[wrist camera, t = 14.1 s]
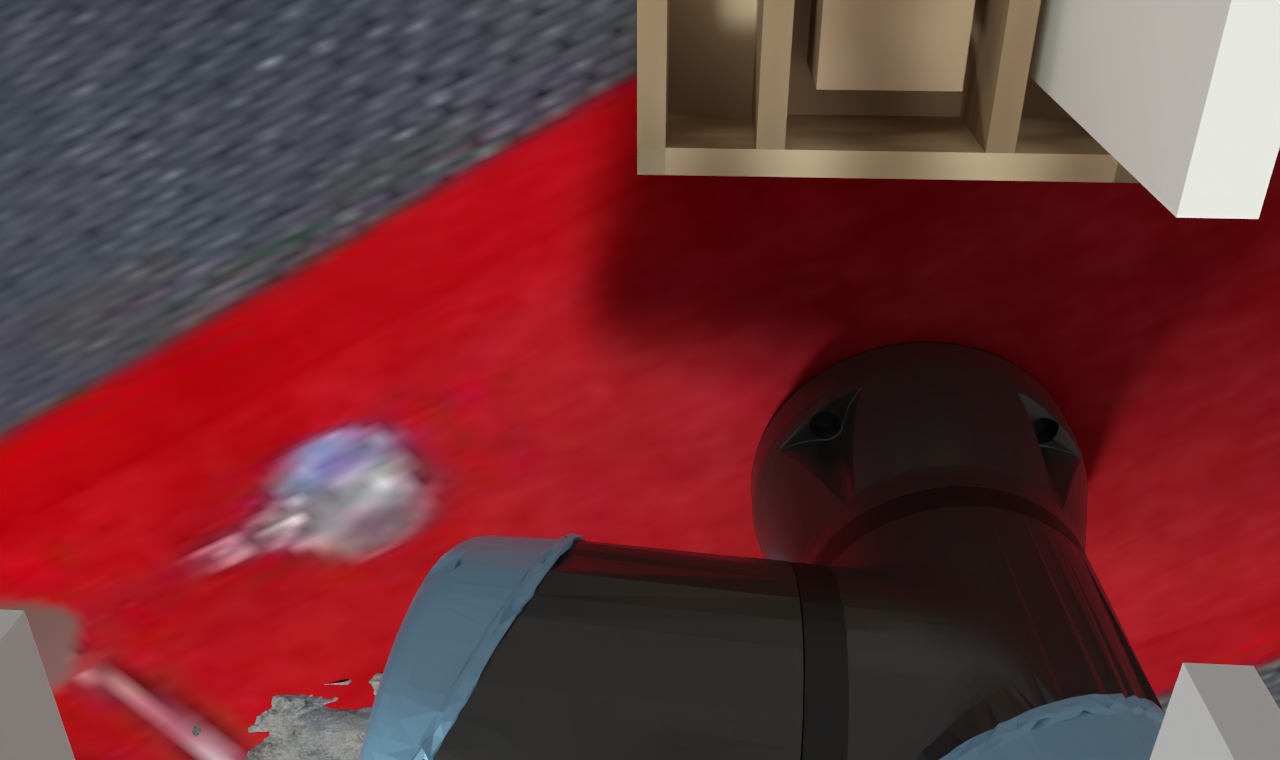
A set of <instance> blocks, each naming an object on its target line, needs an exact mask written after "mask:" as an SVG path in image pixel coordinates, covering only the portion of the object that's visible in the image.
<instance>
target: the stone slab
mask: <svg viewBox="0 0 1280 760" xmlns="http://www.w3.org/2000/svg"><path fill="white" fill-rule="evenodd" d="M382 675H383V673H378V674H376V675H374V676H373V678H372V679H371V680H370V681H369V683H371V684H372V687H373V688H374V694H375V695H376V694H377V690H378V687H379V684H380V681H381V678H382ZM350 682H351V680H348V681H345V682H341V683H332V684H334V685H337V684H339V685H343V684H346V685H348V684H349V683H350ZM325 685H327V684H325ZM337 700H338V697H334V698H333V699H322V697H313V695H310V696H307V695H276V696H273V699H272V708H271V709H269V710H267V711H265V712H264V713H263V714H261V715H259V716H257V719H256V722H255V725H251V726H250V727H249V728H248V731H249V733H252V732H257V731H259V732H266V731H269V733H270V735H269V736H268V737H267V738H264V741H263V742H261V743H260V744H258V745H257V746H256V747H254V748H252V749H251V750H249V751H248V755H247V757H246V758H245V759H244V760H359V758H360V753H361V749H362V745H363V741H364V737H365V733H366V729H367V725H368V722H369V718H370V714H371V710H372V707H367V708H363V709H359V710H351V709H347V710H341V709H333V708H328V707H325V706H322V705H324V704H327V703H330V702H334V701H337ZM200 732H201V729H199V728H198V726H194V729H193V735H194V736H197V735H198V734H199V733H200Z"/></svg>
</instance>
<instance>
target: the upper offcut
mask: <svg viewBox="0 0 1280 760" xmlns="http://www.w3.org/2000/svg"><path fill="white" fill-rule="evenodd" d="M974 5H975V0H817V8H816V21H815V35H814V48H813V61H812V74H811V76H812V78H813V81H814V84H815V87H816V90H886V91H962V89H963V82H964V75H965V68H966V61H967V54H968V47H969V40H970V33H971V26H972V19H973V12H974Z"/></svg>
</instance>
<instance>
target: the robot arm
mask: <svg viewBox="0 0 1280 760" xmlns="http://www.w3.org/2000/svg"><path fill="white" fill-rule="evenodd" d="M1087 490H1088V485H1087V475H1086V469H1085V464H1084V460H1083V457H1082V453H1081V450H1080V447H1079V445H1078V442H1077V440H1076V438H1075V436H1074V434H1073V432H1072V430H1071V428H1070V427H1069V425H1068V423H1067V421H1066V419H1065V417H1064V416H1063V414H1062V412H1061V410H1060V409H1059V407H1058V405H1057V404H1056V402H1055V401H1054V400H1053V398H1052V397H1051V396H1050V394H1049V393H1048V392H1047V391H1046V390H1045V389H1044V388H1043V387H1042V386H1041V385H1040V384H1039V383H1038V382H1037V381H1036V380H1035V379H1034V378H1033V377H1031V376H1030V375H1029V374H1027V373H1026V372H1025V371H1023V370H1022V369H1020V368H1018V367H1017V366H1015V365H1014V364H1012V363H1010V362H1008V361H1006V360H1004V359H1002V358H1000V357H997V356H995V355H993V354H990V353H987V352H984V351H981V350H978V349H974V348H970V347H966V346H960V345H954V344H946V343H907V344H899V345H892V346H887V347H882V348H878V349H874V350H871V351H867V352H864V353H861V354H858V355H855V356H853V357H851V358H848V359H846V360H843V361H841V362H839V363H837V364H835V365H833V366H831V367H830V368H828V369H826V370H825V371H823V372H821V373H820V374H818V375H817V376H815V377H814V378H812V379H811V380H810V381H808V382H807V383H806V384H804V385H803V386H802V387H801V388H800V389H798V390H797V391H796V392H795V393H794V394H793V395H792V396H791V397H790V398H789V399H788V400H787V401H786V402H785V403H784V405H783V406H782V407H781V408H780V409H779V411H778V412H777V413H776V415H775V416H774V417H773V419H772V420H771V422H770V424H769V425H768V427H767V429H766V430H765V432H764V434H763V437H762V439H761V441H760V443H759V446H758V449H757V452H756V455H755V459H754V463H753V468H752V477H751V494H752V507H753V521H754V527H755V532H756V535H757V539H758V542H759V545H760V548H761V550H762V553H763V555H764V558H765V559H760V558H747V557H736V556H726V555H716V554H707V553H697V552H687V551H677V550H667V549H658V548H648V547H638V546H628V545H618V544H609V543H599V542H589V541H585V540H584V537H583V536H582V535H577V534H568V535H565V536H563V537H562V538H560V539H554V538H530V537H508V536H480V537H475V538H471V539H468V540H465V541H463V542H461V543H459V544H458V545H456V546H455V547H453V548H452V549H450V550H449V551H448V552H446V553H445V554H444V555H443V556H442V557H441V558H440V559H439V560H438V561H437V563H436V564H435V565H434V566H433V567H432V569H431V570H430V572H429V573H428V575H427V576H426V578H425V579H424V581H423V583H422V585H421V586H420V588H419V589H418V591H417V593H416V595H415V597H414V599H413V601H412V603H411V605H410V607H409V609H408V611H407V613H406V615H405V617H404V620H403V622H402V624H401V626H400V629H399V631H398V634H397V636H396V639H395V641H394V644H393V647H392V649H391V652H390V655H389V657H388V660H387V663H386V666H385V669H384V672H383V675H382V678H381V681H380V684H379V687H378V690H377V694H376V697H375V700H374V704H373V707H372V710H371V714H370V718H369V722H368V725H367V729H366V733H365V737H364V741H363V745H362V749H361V753H360V758H359V760H1280V709H1279V707H1278V706H1277V704H1276V702H1275V701H1274V699H1273V697H1272V696H1271V694H1270V693H1269V691H1268V689H1267V688H1266V686H1265V684H1264V683H1263V681H1262V679H1261V678H1260V676H1259V674H1258V673H1257V671H1256V670H1255V668H1254V666H1243V665H1221V664H1199V663H1183V664H1182V667H1181V670H1180V673H1179V676H1178V679H1177V681H1176V684H1175V687H1174V690H1173V693H1172V696H1171V699H1170V702H1169V705H1168V707H1167V710H1166V712H1165V711H1163V709H1162V707H1161V705H1160V703H1159V701H1158V699H1157V697H1156V695H1155V693H1154V691H1153V689H1152V687H1151V685H1150V683H1149V681H1148V679H1147V677H1146V675H1145V673H1144V671H1143V669H1142V667H1141V665H1140V663H1139V661H1138V659H1137V657H1136V655H1135V653H1134V651H1133V649H1132V646H1131V644H1130V642H1129V640H1128V638H1127V636H1126V634H1125V632H1124V630H1123V628H1122V626H1121V624H1120V622H1119V620H1118V618H1117V616H1116V614H1115V612H1114V610H1113V608H1112V606H1111V604H1110V602H1109V600H1108V598H1107V596H1106V594H1105V592H1104V590H1103V588H1102V586H1101V584H1100V582H1099V580H1098V578H1097V576H1096V574H1095V572H1094V570H1093V568H1092V566H1091V564H1090V562H1089V560H1088V558H1087V556H1086V554H1085V550H1086V522H1087ZM0 760H75V758H74V755H73V752H72V749H71V746H70V743H69V740H68V737H67V734H66V732H65V729H64V726H63V723H62V720H61V717H60V714H59V711H58V708H57V705H56V702H55V699H54V696H53V693H52V690H51V688H50V685H49V682H48V679H47V676H46V673H45V670H44V667H43V664H42V662H41V658H40V655H39V653H38V650H37V646H36V644H35V641H34V638H33V635H32V632H31V629H30V626H29V623H28V620H27V617H26V614H25V612H24V611H19V610H0Z"/></svg>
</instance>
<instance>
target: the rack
mask: <svg viewBox="0 0 1280 760" xmlns="http://www.w3.org/2000/svg"><path fill="white" fill-rule="evenodd" d="M1040 4H1041V0H975V5H974V12H973V19H972V26H971V33H970V40H969V47H968V54H967V61H966V68H965V75H964V82H963V89H962V91H886V90H816V87H815V84H814V81H813V78H812V76H811V73H810V70H809V67H808V64H807V53H808V40H809V26H810V13H811V0H637V175H689V176H750V177H810V178H871V179H931V180H992V181H1052V182H1113V183H1140V182H1139V181H1138V180H1137V179H1136V178H1135V177H1134V176H1133V175H1131V174H1130V173H1129V172H1128V171H1127V170H1126V169H1125V168H1124V167H1123V166H1122V165H1121V164H1120V163H1119V162H1118V161H1117V160H1116V159H1115V158H1114V157H1113V156H1112V155H1111V154H1110V153H1109V152H1108V151H1107V150H1105V149H1104V148H1103V147H1102V146H1101V145H1100V144H1099V143H1098V142H1097V141H1096V140H1095V139H1094V138H1093V137H1092V136H1091V135H1090V134H1089V133H1088V132H1087V131H1086V130H1085V129H1084V128H1083V127H1082V126H1081V125H1079V124H1078V123H1077V122H1076V121H1075V120H1074V119H1073V118H1072V117H1071V116H1070V115H1069V114H1068V113H1067V112H1066V111H1065V110H1064V109H1063V108H1062V107H1061V106H1060V105H1059V104H1058V103H1057V102H1056V101H1054V100H1053V99H1052V98H1051V97H1050V96H1049V95H1048V94H1047V93H1046V92H1045V91H1044V90H1043V89H1042V88H1041V87H1040V86H1039V85H1038V84H1037V83H1036V82H1035V81H1034V80H1033V79H1032V78H1031V77H1030V76H1028V73H1029V68H1030V62H1031V56H1032V50H1033V44H1034V39H1035V33H1036V27H1037V21H1038V15H1039V9H1040Z"/></svg>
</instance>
